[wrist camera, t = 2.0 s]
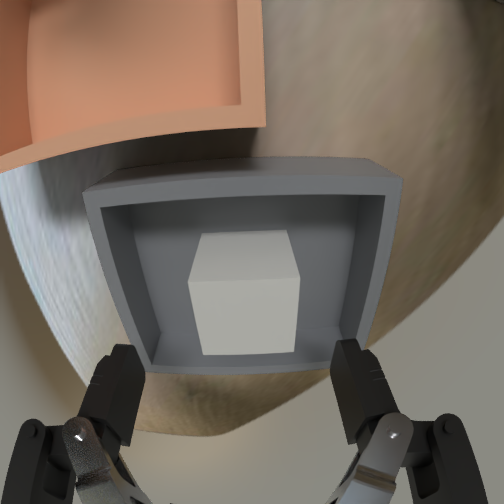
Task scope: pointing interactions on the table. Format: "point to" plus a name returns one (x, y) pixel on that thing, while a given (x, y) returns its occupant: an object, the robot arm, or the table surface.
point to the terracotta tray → (124, 72)
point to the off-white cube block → (245, 292)
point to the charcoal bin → (235, 220)
